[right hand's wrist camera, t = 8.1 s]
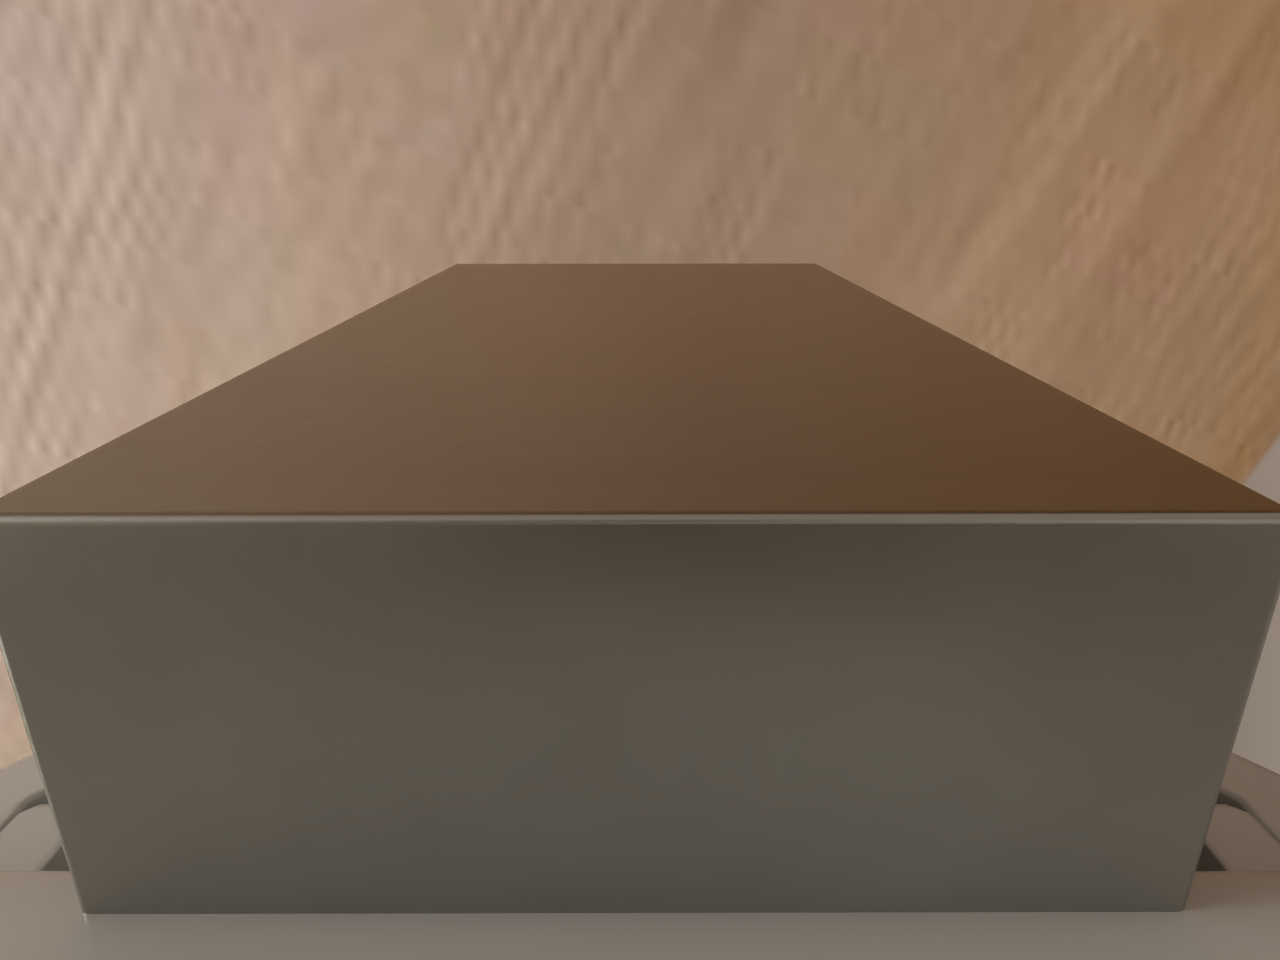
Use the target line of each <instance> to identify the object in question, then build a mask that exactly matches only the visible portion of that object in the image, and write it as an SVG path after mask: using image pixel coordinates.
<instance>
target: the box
mask: <svg viewBox="0 0 1280 960" xmlns="http://www.w3.org/2000/svg"><path fill="white" fill-rule="evenodd" d="M1279 593H1280V504H1278V503H1277V502H1275V501H1273V500H1271V499H1269V498H1267V497H1265V496H1263V495H1261V494H1259V493H1257V492H1255V491H1253V490H1251V489H1249V488H1248V487H1246V486H1244V485H1242V484H1240V483H1238V482H1236V481H1234V480H1232V479H1230V478H1228V477H1226V476H1224V475H1222V474H1220V473H1219V472H1217V471H1215V470H1213V469H1211V468H1209V467H1207V466H1205V465H1203V464H1201V463H1199V462H1197V461H1195V460H1193V459H1192V458H1190V457H1188V456H1186V455H1184V454H1182V453H1180V452H1178V451H1176V450H1174V449H1172V448H1170V447H1168V446H1166V445H1164V444H1163V443H1161V442H1159V441H1157V440H1155V439H1153V438H1151V437H1149V436H1147V435H1145V434H1143V433H1141V432H1139V431H1137V430H1136V429H1134V428H1132V427H1130V426H1128V425H1126V424H1124V423H1122V422H1120V421H1118V420H1116V419H1114V418H1112V417H1110V416H1108V415H1107V414H1105V413H1103V412H1101V411H1099V410H1097V409H1095V408H1093V407H1091V406H1089V405H1087V404H1085V403H1083V402H1081V401H1079V400H1078V399H1076V398H1074V397H1072V396H1070V395H1068V394H1066V393H1064V392H1062V391H1060V390H1058V389H1056V388H1054V387H1052V386H1051V385H1049V384H1047V383H1045V382H1043V381H1041V380H1039V379H1037V378H1035V377H1033V376H1031V375H1029V374H1027V373H1025V372H1023V371H1022V370H1020V369H1018V368H1016V367H1014V366H1012V365H1010V364H1008V363H1006V362H1004V361H1002V360H1000V359H998V358H996V357H995V356H993V355H991V354H989V353H987V352H985V351H983V350H981V349H979V348H977V347H975V346H973V345H971V344H969V343H967V342H966V341H964V340H962V339H960V338H958V337H956V336H954V335H952V334H950V333H948V332H946V331H944V330H942V329H940V328H939V327H937V326H935V325H933V324H931V323H929V322H927V321H925V320H923V319H921V318H919V317H917V316H915V315H913V314H911V313H910V312H908V311H906V310H904V309H902V308H900V307H898V306H896V305H894V304H892V303H890V302H888V301H886V300H884V299H882V298H881V297H879V296H877V295H875V294H873V293H871V292H869V291H867V290H865V289H863V288H861V287H859V286H857V285H855V284H854V283H852V282H850V281H848V280H846V279H844V278H842V277H840V276H838V275H836V274H834V273H832V272H830V271H828V270H826V269H825V268H823V267H821V266H819V265H817V264H456V265H454V266H452V267H450V268H448V269H446V270H444V271H442V272H440V273H438V274H436V275H434V276H432V277H430V278H428V279H426V280H425V281H423V282H421V283H419V284H417V285H415V286H413V287H411V288H409V289H407V290H405V291H403V292H401V293H399V294H397V295H395V296H393V297H391V298H389V299H387V300H385V301H383V302H382V303H380V304H378V305H376V306H374V307H372V308H370V309H368V310H366V311H364V312H362V313H360V314H358V315H356V316H354V317H352V318H350V319H348V320H346V321H344V322H342V323H341V324H339V325H337V326H335V327H333V328H331V329H329V330H327V331H325V332H323V333H321V334H319V335H317V336H315V337H313V338H311V339H309V340H307V341H305V342H303V343H301V344H299V345H298V346H296V347H294V348H292V349H290V350H288V351H286V352H284V353H282V354H280V355H278V356H276V357H274V358H272V359H270V360H268V361H266V362H264V363H262V364H260V365H258V366H257V367H255V368H253V369H251V370H249V371H247V372H245V373H243V374H241V375H239V376H237V377H235V378H233V379H231V380H229V381H227V382H225V383H223V384H221V385H219V386H217V387H215V388H214V389H212V390H210V391H208V392H206V393H204V394H202V395H200V396H198V397H196V398H194V399H192V400H190V401H188V402H186V403H184V404H182V405H180V406H178V407H176V408H174V409H173V410H171V411H169V412H167V413H165V414H163V415H161V416H159V417H157V418H155V419H153V420H151V421H149V422H147V423H145V424H143V425H141V426H139V427H137V428H135V429H133V430H131V431H130V432H128V433H126V434H124V435H122V436H120V437H118V438H116V439H114V440H112V441H110V442H108V443H106V444H104V445H102V446H100V447H98V448H96V449H94V450H92V451H90V452H89V453H87V454H85V455H83V456H81V457H79V458H77V459H75V460H73V461H71V462H69V463H67V464H65V465H63V466H61V467H59V468H57V469H55V470H53V471H51V472H49V473H47V474H46V475H44V476H42V477H40V478H38V479H36V480H34V481H32V482H30V483H28V484H26V485H24V486H22V487H20V488H18V489H16V490H14V491H12V492H10V493H8V494H6V495H5V496H3V497H1V498H0V648H1V651H2V654H3V658H4V661H5V664H6V667H7V671H8V674H9V677H10V680H11V683H12V687H13V690H14V693H15V696H16V700H17V703H18V706H19V709H20V712H21V716H22V719H23V722H24V725H25V729H26V732H27V735H28V738H29V741H30V745H31V748H32V751H33V754H34V758H35V761H36V764H37V767H38V770H39V774H40V777H41V780H42V783H43V787H44V790H45V793H46V796H47V799H48V803H49V806H50V809H51V812H52V815H53V819H54V822H55V825H56V828H57V832H58V835H59V838H60V841H61V844H62V848H63V851H64V854H65V857H66V861H67V864H68V867H69V870H70V873H71V877H72V880H73V883H74V886H75V890H76V893H77V896H78V899H79V902H80V906H81V909H82V912H83V913H86V914H397V913H865V912H1180V911H1182V910H1184V908H1185V905H1186V901H1187V898H1188V895H1189V891H1190V888H1191V885H1192V881H1193V878H1194V875H1195V872H1196V868H1197V865H1198V862H1199V858H1200V855H1201V852H1202V848H1203V845H1204V842H1205V838H1206V835H1207V832H1208V828H1209V825H1210V822H1211V818H1212V815H1213V812H1214V808H1215V805H1216V802H1217V799H1218V795H1219V792H1220V789H1221V785H1222V782H1223V779H1224V775H1225V772H1226V769H1227V765H1228V762H1229V759H1230V755H1231V752H1232V748H1233V745H1234V742H1235V739H1236V735H1237V732H1238V729H1239V725H1240V722H1241V719H1242V715H1243V712H1244V709H1245V706H1246V702H1247V699H1248V696H1249V692H1250V689H1251V686H1252V682H1253V679H1254V676H1255V672H1256V669H1257V665H1258V662H1259V659H1260V656H1261V653H1262V649H1263V646H1264V642H1265V639H1266V636H1267V633H1268V629H1269V626H1270V623H1271V619H1272V616H1273V613H1274V609H1275V606H1276V603H1277V599H1278V596H1279Z"/></svg>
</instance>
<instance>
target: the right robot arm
mask: <svg viewBox="0 0 1280 960" xmlns="http://www.w3.org/2000/svg"><path fill="white" fill-rule="evenodd" d="M0 960H1280V775H1279V774H1277V773H1275V772H1273V771H1271V770H1268V769H1266V768H1264V767H1262V766H1260V765H1258V764H1255V763H1253V762H1251V761H1249V760H1247V759H1245V758H1243V757H1240V756H1238V755H1236V754H1234V753H1232V752H1231V755H1230V759H1229V762H1228V765H1227V769H1226V772H1225V775H1224V779H1223V782H1222V785H1221V789H1220V792H1219V795H1218V799H1217V802H1216V805H1215V808H1214V812H1213V815H1212V818H1211V822H1210V825H1209V828H1208V832H1207V835H1206V838H1205V842H1204V845H1203V848H1202V852H1201V855H1200V858H1199V862H1198V865H1197V868H1196V872H1195V875H1194V878H1193V881H1192V885H1191V888H1190V891H1189V895H1188V898H1187V901H1186V905H1185V908H1184V910H1182V911H1180V912H865V913H397V914H86V913H83V912H82V909H81V906H80V902H79V899H78V896H77V893H76V890H75V886H74V883H73V880H72V877H71V873H70V870H69V867H68V864H67V861H66V857H65V854H64V851H63V848H62V844H61V841H60V838H59V835H58V832H57V828H56V825H55V822H54V819H53V815H52V812H51V809H50V806H49V803H48V799H47V796H46V793H45V790H44V787H43V783H42V780H41V777H40V774H39V770H38V767H37V764H36V761H35V758H34V754H33V755H31V756H29V757H27V758H24V759H22V760H20V761H18V762H16V763H13V764H11V765H9V766H7V767H5V768H3V769H0Z"/></svg>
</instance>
